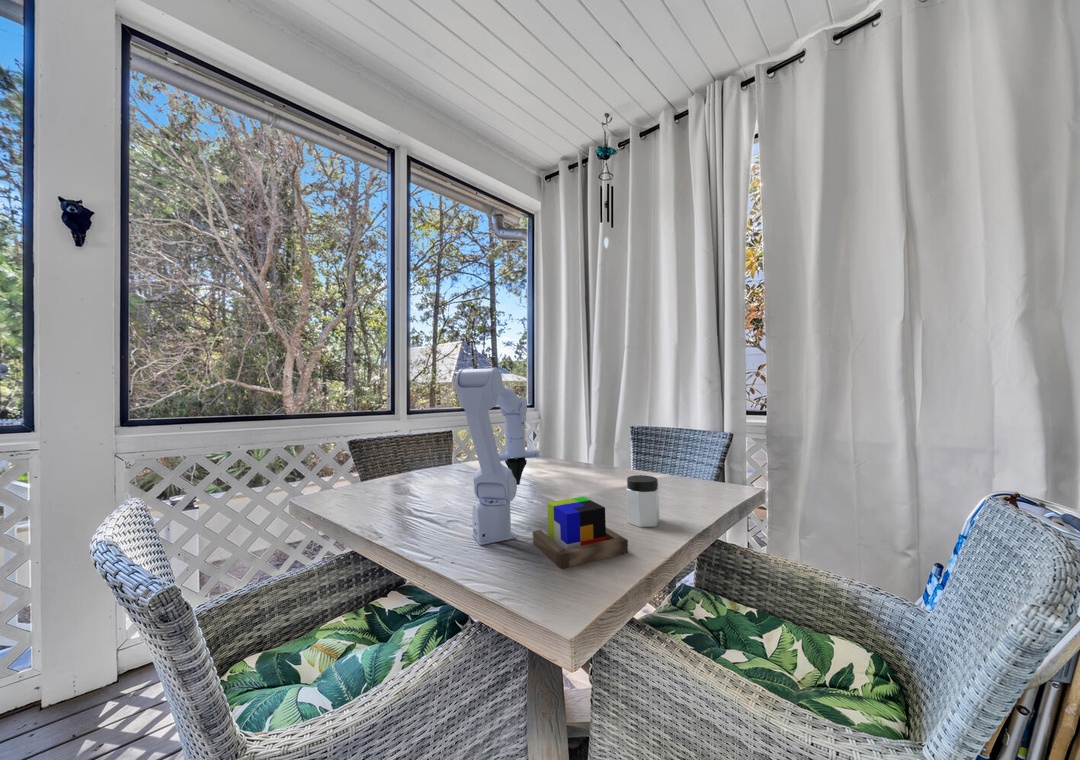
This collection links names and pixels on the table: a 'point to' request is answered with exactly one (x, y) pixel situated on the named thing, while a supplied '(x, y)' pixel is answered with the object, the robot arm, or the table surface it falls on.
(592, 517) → the puzzle toy
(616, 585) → the table surface
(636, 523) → the jar
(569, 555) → the walnut frame
